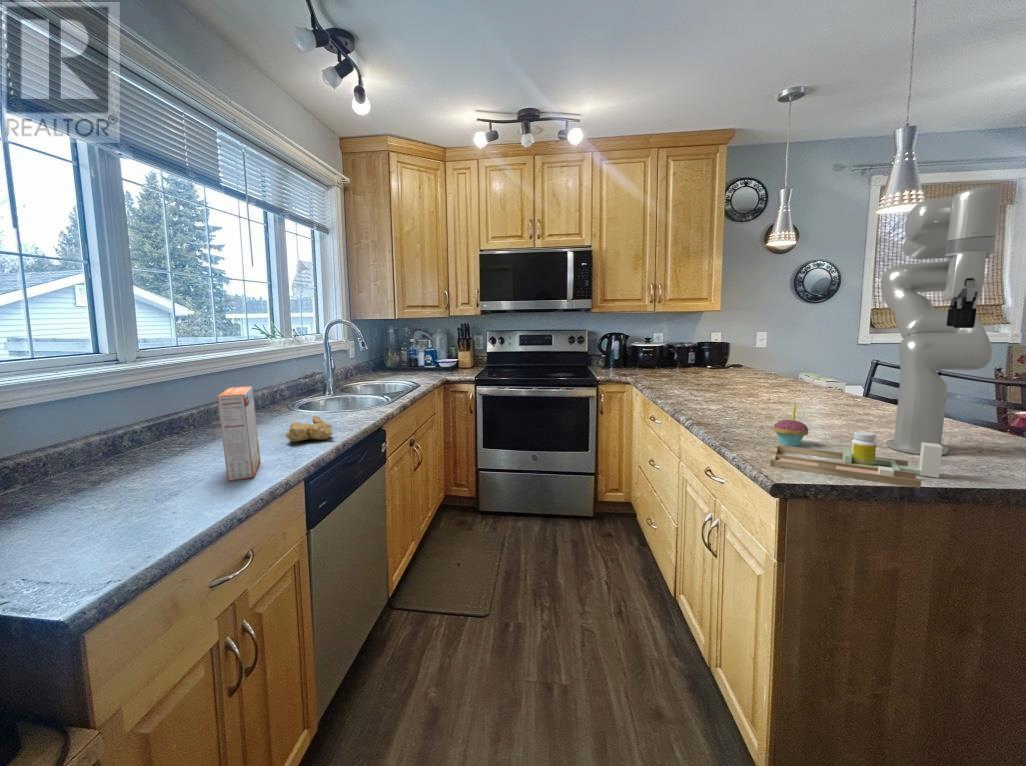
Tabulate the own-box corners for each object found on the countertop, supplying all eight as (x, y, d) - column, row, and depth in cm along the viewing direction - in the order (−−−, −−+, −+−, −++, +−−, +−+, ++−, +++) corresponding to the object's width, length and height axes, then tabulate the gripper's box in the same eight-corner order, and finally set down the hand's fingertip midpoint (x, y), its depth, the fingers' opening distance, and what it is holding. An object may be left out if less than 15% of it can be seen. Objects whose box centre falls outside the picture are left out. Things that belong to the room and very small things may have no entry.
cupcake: (778, 438, 135) (781, 399, 133) (811, 444, 128) (814, 403, 127) (768, 444, 129) (771, 403, 127) (802, 450, 123) (805, 407, 121)
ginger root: (328, 441, 135) (320, 416, 134) (277, 455, 135) (269, 430, 134) (345, 430, 150) (338, 408, 150) (300, 443, 150) (292, 420, 149)
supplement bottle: (878, 470, 106) (881, 436, 105) (855, 469, 107) (858, 435, 106) (866, 464, 110) (870, 431, 109) (845, 463, 111) (848, 430, 110)
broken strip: (779, 461, 113) (780, 452, 113) (890, 477, 101) (891, 466, 101) (778, 466, 110) (779, 456, 109) (893, 482, 98) (894, 472, 98)
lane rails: (774, 449, 123) (775, 444, 123) (907, 466, 108) (907, 460, 108) (770, 466, 110) (770, 460, 110) (920, 487, 95) (921, 481, 94)
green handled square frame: (842, 458, 114) (844, 432, 113) (932, 470, 105) (936, 441, 104) (844, 468, 107) (846, 439, 106) (941, 481, 98) (945, 450, 97)
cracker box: (235, 465, 117) (227, 387, 115) (261, 462, 120) (253, 385, 117) (225, 482, 105) (215, 395, 102) (254, 478, 107) (245, 393, 104)
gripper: (940, 253, 106) (931, 325, 109) (952, 246, 93) (942, 328, 95) (985, 250, 102) (975, 325, 104) (1004, 242, 88) (992, 328, 91)
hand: (959, 327), depth 100 cm, fingers open, 9 cm apart
